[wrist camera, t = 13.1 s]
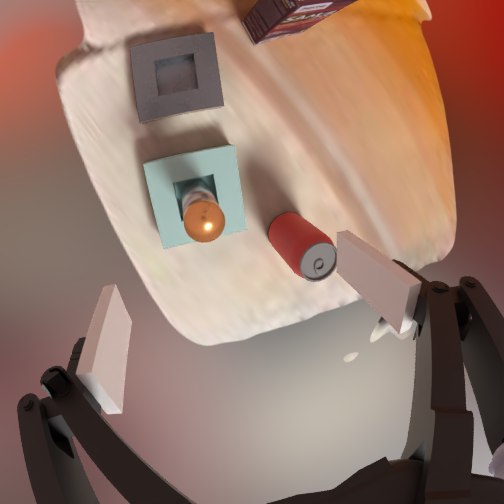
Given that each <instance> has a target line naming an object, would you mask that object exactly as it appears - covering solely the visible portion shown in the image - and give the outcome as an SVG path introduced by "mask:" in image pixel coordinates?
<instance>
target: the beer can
mask: <svg viewBox="0 0 504 504" xmlns="http://www.w3.org/2000/svg"><path fill="white" fill-rule="evenodd" d="M268 237H269V241H270V243H271V244H272V246H273V247H274V248H275V250H276V251H277V252H278V253H279V254H280V256H281V257H282V258H283V259H284V260H285V262H286V263H287V264H288V265H289V267H290V268H291V269H292V270H293V271H294V273H296V274H297V275H299V276H300V277H302V278H305V279H306V280H308V281H312V282H317V281H321V280H324V279H326V278H327V277H328V276H330V275H331V274H332V273H333V271H334V270H335V268H336V266H337V249H336V247H335V246H334V244H333V242H332V240H331V239H330V238H329V237H328V236H327V235H326V234H324V233H323V232H322V231H320V230H319V229H318V228H316V227H315V226H313V225H312V224H311V223H309V222H308V221H307V220H305V219H304V218H302V217H301V216H300V215H298V214H295V213H284V214H282V215H280V216H278V217H277V218H275V220H274V221H273V222H272V223H271V226H270V228H269V234H268Z"/></svg>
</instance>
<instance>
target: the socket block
mask: <svg viewBox="0 0 504 504" xmlns="http://www.w3.org/2000/svg"><path fill="white" fill-rule="evenodd" d="M143 166H144V171H145V176H146V180H147V185H148V189H149V193H150V198H151V202H152V206H153V210H154V214H155V218H156V222H157V226H158V230H159V234H160V237H161V241H162V245H163V248H164V249H167V248H171V247H175V246H179V245H184V244H188V243H192V242H196V241H195V240H193V239H192V238H190V237H189V236H188V234H187V233H186V231H185V228H184V220H183V207H182V189H183V187H184V185H185V184H186V183H187V182H189V181H191V180H195V179H197V180H201V181H203V182H205V183H206V184H207V186H208V187H209V189H210V191H211V193H212V194H213V196H214V198H215V200H216V201H217V203H218V205H219V206H220V208H221V210H222V212H223V213H224V216H225V227H224V230H223V232H222V234H221V235H220V236H223V235H227V234H232V233H236V232H241V231H245V230H247V225H246V218H245V212H244V205H243V198H242V191H241V185H240V178H239V171H238V165H237V158H236V151H235V145H231V144H228V145H222V146H217V147H211V148H206V149H201V150H196V151H191V152H186V153H181V154H177V155H172V156H168V157H164V158H160V159H155V160H151V161H147V162H145V163H144V164H143Z"/></svg>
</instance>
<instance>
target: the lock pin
mask: <svg viewBox="0 0 504 504" xmlns="http://www.w3.org/2000/svg"><path fill="white" fill-rule="evenodd" d="M182 207H183V220H184V228H185V231H186V233H187V234H188V236H189V237H190V238H192V239H193V240H195V241H197V242H210V241H213V240H215V239H216V238H218V237H219V236H220V235H221V234H222V232H223V230H224V227H225V216H224V213H223V212H222V210H221V208H220V206H219V205H218V203H217V201H216V200H215V198H214V196H213V194H212V193H211V191H210V189H209V187H208V186H207V184H206V183H205V182H203V181H201V180H197V179H195V180H191V181H189V182H187V183H186V184H185V185H184V187H183V189H182Z"/></svg>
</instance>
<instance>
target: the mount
mask: <svg viewBox="0 0 504 504" xmlns="http://www.w3.org/2000/svg"><path fill="white" fill-rule="evenodd" d="M130 54H131V64H132V72H133V81H134V88H135V95H136V102H137V109H138V115H139V121H140V123H142V124H143V123H147V122H151V121H155V120H159V119H163V118H168V117H173V116H177V115H182V114H187V113H193V112H198V111H204V110H210V109H216V108H221V107H223V106H224V101H223V95H222V88H221V81H220V74H219V68H218V61H217V54H216V47H215V40H214V33H213V32H210V33H201V34H194V35H187V36H181V37H175V38H169V39H164V40H159V41H154V42H150V43H145V44H141V45H137V46H133V47H130Z"/></svg>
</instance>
